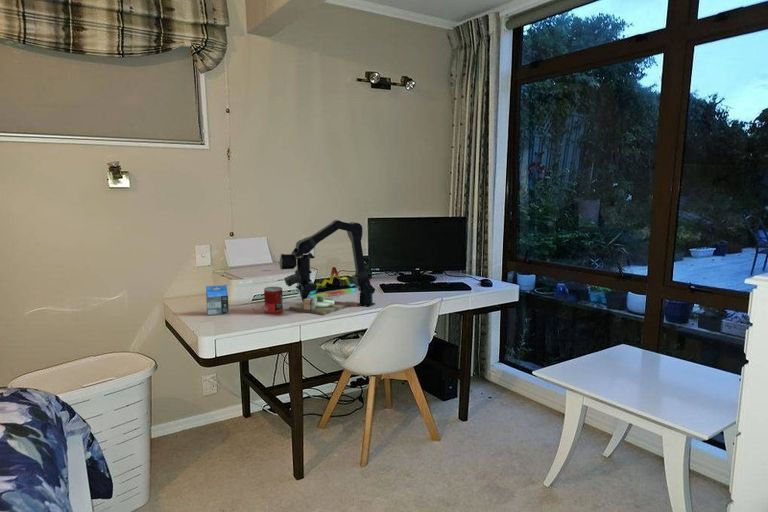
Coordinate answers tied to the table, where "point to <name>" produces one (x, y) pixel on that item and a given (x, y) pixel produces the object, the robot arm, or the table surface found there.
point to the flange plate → (318, 302)
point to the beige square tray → (322, 310)
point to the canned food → (273, 300)
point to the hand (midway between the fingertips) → (303, 302)
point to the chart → (331, 283)
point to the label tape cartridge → (217, 300)
